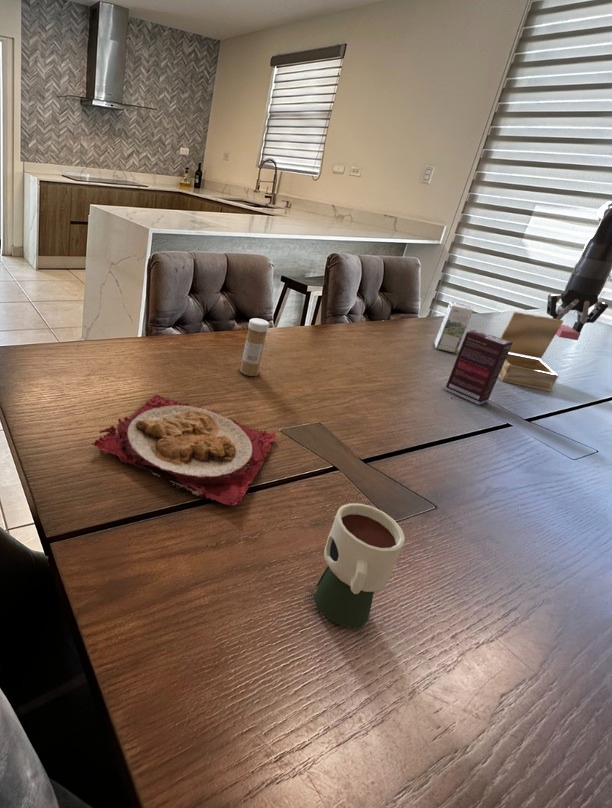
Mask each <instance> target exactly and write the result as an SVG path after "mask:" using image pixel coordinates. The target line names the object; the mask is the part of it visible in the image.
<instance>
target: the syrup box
mask: <svg viewBox="0 0 612 808" xmlns="http://www.w3.org/2000/svg"><path fill="white" fill-rule="evenodd" d="M473 313H474V310H473V307H472V305H470V304H465V303H462V302H461V303H460V302H456V301H451V300H450V301H449V302H448V306H447V308H446V311H445V314H444V316H443V319H442V321H441V324H440V327H439V329H438V332H437V335H436V337H435V340H434V347H435V349H436V350H440V351H444V352H448V353H452V354H457V351H458V350H459V347H460V344H461V342H462V339H463V337H464V335H465V332H466V330H467V327H468V325H469V322H470V320H471V317H472V315H473Z"/></svg>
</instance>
